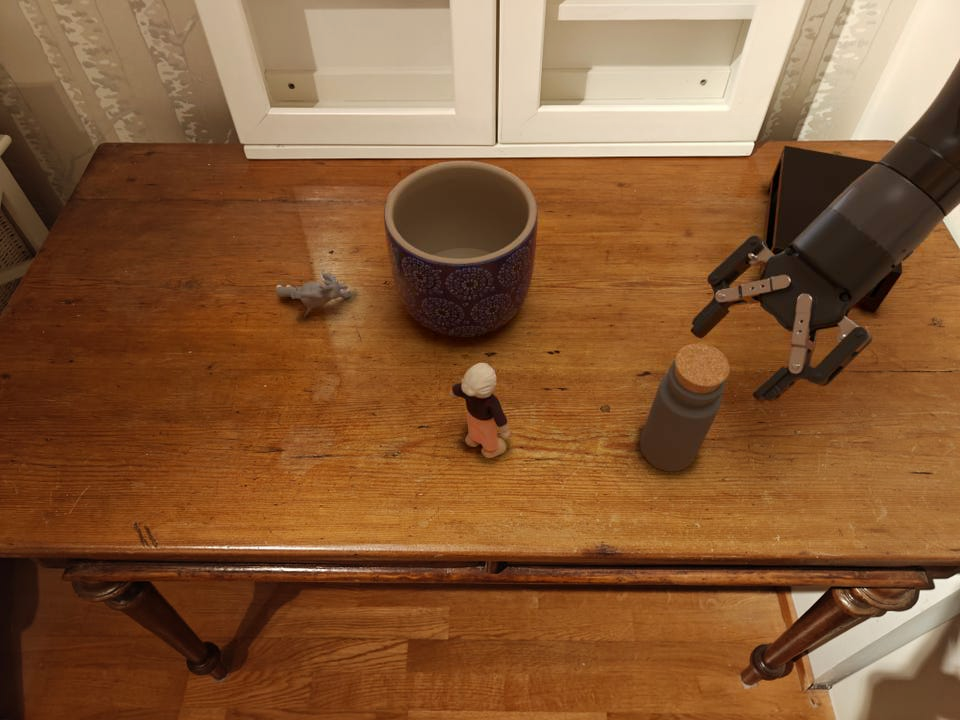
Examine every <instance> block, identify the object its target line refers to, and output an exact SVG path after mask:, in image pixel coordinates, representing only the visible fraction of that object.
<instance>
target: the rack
mask: <svg viewBox="0 0 960 720" xmlns="http://www.w3.org/2000/svg"><path fill="white" fill-rule="evenodd" d="M876 163H877V161H874V160H869V159H863V158H857V157H851V156H846V155H842V154H841V155H840V154H835V153H829V152H824V151H818V150H813V149H807V148H800V147H795V146H789V145H784V146H783V149H782V151H781V153H780V156H779V158H778V161H777V163H776V166H775V168H774V171H773V173H772V176H771V178H770V181H769V183H768V185H767V190H766V193H767V194H768V193H769V198H768V205H767V215H766V222H765V233H764V234H765V235H764V240H763V241H764V242H765V243H766V244H767V246H768V249H769V250H770V251H771V252H772V253H773V254H774V255H777V254H779V253H781V252H783V251H785V250H786V249H787V248H788V247H789V245H790V244H791V243H792V242H793V241H794V240H795V239H796V238H797V237H798V236H799V235H800V234H801V233H802V232H803V231H804V230H805V229H806V228H807V227H808V226H809V225H810V224H811V223H812V222H813V221H814V220H815V219H816V218H817V217H818V216H819V215H820V214H821V213H822V212H823V211H824V210H825V209H826V208H827V207H828V206H829V205H830V204H831V203H832V202H833V201H834V200H835V199H836V198H837V197H838V196H839V195H840V194H841V193H842V192H843V191H844V190H845V189H846V188H847V187H848V186H849V185H850V184H851V183H852V182H854V181H855V180H856V179H857V178H859V177H860V176H861V175H863V174H864V173H865V172H866V171H868V170H869V169H870V168H871V167H872V166H873V165H874V164H876ZM765 264H766V263H762V264H761V268H760V273H759V275H758V278H757V280H756V281H759V280H762V279H763V274H764V269H765ZM902 274H903V261H902V262H901V263H899V264H898V265H897V266H896V267H895V268H894V269H893V270H892V271H891V272H890V273H889V274H888V275H886V276H885V277H884V278H883V279H882V280H881V281H880V282H879V283H878V284H877V285H875V286H874V287H873V288H872V289H871V290H870V291H869V292H868V293H867V294H866V295H865V296H863V297H862V298H861V299H860V300H859V301H864V302H865V303H864V312H868V313H873V314H875V313H876V312H877V310H878V309H879V307H880V306H881V305H882V304H883V302H884V300H885V299H886V297H887V296H888V295H889V293H890V292H891V290H892V289H893V287H894V286H895V284H896V283H897V281H898V280H899V279H900V277H901V276H902Z"/></svg>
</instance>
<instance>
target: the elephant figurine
mask: <svg viewBox="0 0 960 720" xmlns="http://www.w3.org/2000/svg"><path fill="white" fill-rule="evenodd" d="M324 271H325V270H324V269H322V270H321V271H320V273H319V279H320V280H321V282H318V281H308V282H304V283H303V284H302V285H301V287H299V286H298V285H294V286H292V285H290V284H286V286H283V285H281V284H277V285H276V288H275V293H276V296H277V297H278V298H288V297H289V298H291V300H294V299H296V300H297V299H299V300H300V301H301V303H302V304H303V305H304V306H305V307H306V312H305V313H304V315H303V317H302V318H303V319H305V318H306V316H307V315H308V314H309V313H310V312H311V310H313V309H314V308H320V307H323V306H325V305H326V304H328V303H330V302H331V301H332V300H337V299H339V298H343V299H347V298H351V296H353V292H352V290H351V289H350V290H348V288H349V286H348V285H346V284H341V283H339V280H337V278H336V277H335V276H334V275H333V274H332V273H331V272H332V269H330V270H329V271H328V272H325V273H324ZM322 283H323V284H324V285H323V284H322Z"/></svg>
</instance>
